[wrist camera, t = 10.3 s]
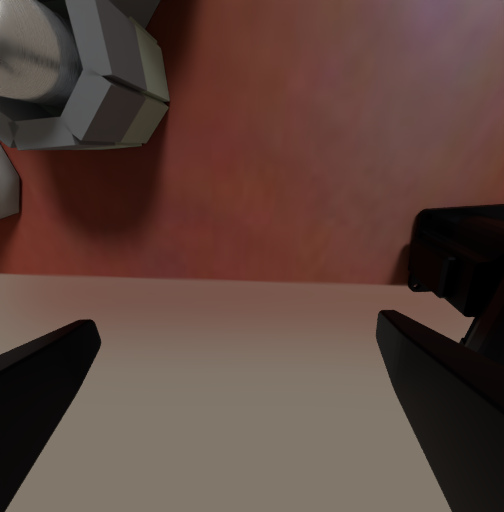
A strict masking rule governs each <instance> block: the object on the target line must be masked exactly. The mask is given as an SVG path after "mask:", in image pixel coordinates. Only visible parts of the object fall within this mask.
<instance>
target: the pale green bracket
mask: <svg viewBox="0 0 504 512" xmlns="http://www.w3.org/2000/svg"><path fill="white" fill-rule="evenodd" d="M41 3H42V4H43V5H45V6H47V7H48V8H50V9H51V10H53V11H54V12H56V13H58V14H59V15H61V16H62V17H64V18H66V19H67V20H69V21H70V17H69V13H68V9H67V5H66V1H65V0H55V1H48V2H41ZM129 20H130V21H132V22H133V23H134V24H135V28H136V34H137V39H138V44H139V49H140V54H141V60H142V65H143V70H144V75H145V80H146V85H147V91H141V92H140V93H141V94H142V95H143V96H144V97H145V98H146V100H145V102H144V103H143V105H142V107H141V108H140V110H139V112H138V114H137V115H136V117H135V119H134V120H133V122H132V124H131V125H130V127H129V129H128V131H127V132H126V134H125V136H124V137H123V139H122V141H121V142H115V146H106V147H95V148H84V149H73V150H104V149H115V148H126V147H137V146H142V143H147V142H148V140H149V138H150V137H151V135H152V134H153V132H154V130H155V129H156V127H157V126H158V124H159V122H160V121H161V119H162V118H163V116H164V115H165V113H166V111H167V110H168V108H169V107H168V106H167V105H166V104H164V103H163V102H168V101H170V98H169V92H168V86H167V80H166V74H165V68H164V62H163V56H162V51H161V48H160V47H159V46H158V45H157V41H156V40H155V39H154V38H153V37H152V36H151V35H150V34H149V33H148V32H147V31H146V30H145V29H144V28H143V27H142V26H140V25H139V24H138V23H137V22H136V21H135V20H134V19H133V18H132V17H131V16H130V17H129ZM70 22H71V21H70ZM37 104H39V103H37ZM39 105H40V106H41V107H42V108H44V109H45V110H46V111H47V112H49V113H50V114H51V115H52V116H54V117H61V114H62V112H63V110H64V108H60V107H55V106H50V105H45V104H39Z"/></svg>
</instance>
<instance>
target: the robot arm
mask: <svg viewBox="0 0 504 512" xmlns="http://www.w3.org/2000/svg"><path fill="white" fill-rule="evenodd" d="M426 214H429V217H428V218H427V219H425V218H424V217H425V215H426ZM408 271H410V274H409V280H408V287H409V288H410V289H411V290H412V291H413V292H429V291H432V292H433V293H434V294H435V295H436V296H437V297H439V298H445V299H446V300H447V301H448V302H449V303H450V304H451V305H453V306H454V307H455V308H456V309H457V310H458V311H459V312H461V313H462V314H463V315H464V316H465V317H475V318H474V320H473V322H472V324H471V326H470V328H469V330H468V331H467V333H466V335H465V337H464V338H462V339H461V341H460V342H459V343H457V342H455V341H453V340H452V339H450V338H448V337H446V336H444V335H442V334H440V333H438V332H436V331H434V330H432V329H430V328H428V327H426V326H424V325H422V324H420V323H418V322H417V321H415V320H413V319H411V318H409V317H407V316H405V315H403V314H401V313H399V312H397V311H395V310H381V311H380V312H379V314H378V319H377V320H378V321H377V329H376V339H377V343H378V346H379V348H380V351H381V354H382V357H383V360H384V363H385V366H386V369H387V371H388V374H389V377H390V380H391V383H392V386H393V388H394V390H395V393H396V395H397V397H398V399H399V402H400V404H401V406H402V408H403V410H404V412H405V414H406V416H407V418H408V420H409V422H410V424H411V427H412V429H413V431H414V433H415V435H416V437H417V439H418V441H419V443H420V446H421V448H422V450H423V452H424V454H425V456H426V458H427V460H428V462H429V465H430V467H431V469H432V471H433V473H434V475H435V477H436V479H437V481H438V483H439V486H440V487H441V490H442V491H443V494H444V496H445V498H446V500H447V502H448V504H449V507H450V509H451V511H452V512H504V204H495V205H479V206H463V207H447V208H431V209H424V210H422V211H421V212H420V213H419V215H418V220H417V226H416V233H415V238H414V239H413V240H412V244H411V251H410V258H409V265H408ZM417 283H418V285H417V286H416V287H414V285H415V284H417ZM100 346H101V339H100V336H99V333H98V330H97V327H96V324H95V322H94V321H93V320H91V319H89V320H78V321H75V322H73V323H71V324H68V325H66V326H64V327H62V328H59V329H57V330H55V331H53V332H50V333H48V334H46V335H44V336H41V337H39V338H37V339H35V340H32V341H30V342H28V343H26V344H23V345H21V346H19V347H17V348H14V349H12V350H10V351H8V352H5V353H3V354H1V355H0V512H5V511H6V509H7V507H8V506H9V504H10V502H11V501H12V499H13V498H14V496H15V494H16V493H17V491H18V489H19V488H20V486H21V484H22V483H23V481H24V480H25V478H26V476H27V475H28V473H29V471H30V470H31V468H32V466H33V465H34V463H35V462H36V460H37V458H38V457H39V455H40V453H41V452H42V450H43V448H44V447H45V445H46V443H47V442H48V440H49V439H50V437H51V435H52V434H53V432H54V430H55V429H56V427H57V426H58V424H59V422H60V421H61V419H62V417H63V415H64V414H65V412H66V411H67V409H68V407H69V406H70V404H71V403H72V401H73V399H74V398H75V396H76V394H77V393H78V391H79V389H80V387H81V385H82V383H83V381H84V379H85V377H86V375H87V373H88V371H89V369H90V367H91V365H92V363H93V361H94V359H95V357H96V355H97V353H98V351H99V349H100Z"/></svg>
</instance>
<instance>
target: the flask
mask: <svg viewBox="0 0 504 512" xmlns="http://www.w3.org/2000/svg"><path fill="white" fill-rule="evenodd" d="M19 178H20V177H19V176H18V174H17V172H16V171H15V169H14V167H13V165H12V164H11V162H10V160H9V159H8V157H7V155H6V154H5V152H4V150H3V148H2V147H1V145H0V219H1V218H4V217H7V216H10V215H13V214H16V213H19Z"/></svg>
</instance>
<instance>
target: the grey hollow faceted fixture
mask: <svg viewBox="0 0 504 512" xmlns="http://www.w3.org/2000/svg"><path fill="white" fill-rule="evenodd" d="M37 1H39V2H40V3H41V2H48V1H55V0H37ZM65 1H66V5H67V9H68V13H69V17H70V21H71V24H72V28H73V32H74V36H75V40H76V43H77V47H78V51H79V55H80V59H81V62H82V66H83V71H82V73H81V75H80V77H79V79H78V81H77V84H76V86H75V88H74V90H73V92H72V94H71V96H70V98H69V100H68V102H67V104H66V106H65V108H64V110H63V112H62V114H61V117H54V116H52V115H51V114H50V113H49V112H47V111H46V110H45V109H44V108H42V107H41V106H40V105H39V104H37V103H34V102H29V101H24V100H19V99H13V98H8V97H3V96H0V141H2V142H3V143H4V144H6V145H7V146H8V147H10V148H17V149H18V150H73V149H84V148H95V147H106V146H115V142H121V141H122V139H123V137H124V136H125V134H126V132H127V131H128V129H129V127H130V125H131V124H132V122H133V120H134V119H135V117H136V115H137V114H138V112H139V110H140V108H141V107H142V105H143V103H144V102H145V100H146V98H145V97H144V96H143V95H142V94H141V93H140V92H141V91H147V85H146V80H145V75H144V70H143V65H142V60H141V54H140V49H139V44H138V39H137V34H136V28H135V24H134V23H133V22H132V21H130V20H129V17H130V16H131V17H132V18H133V19H134V20H135V21H136V22H137V23H138V24H139V25H140V26H142V27H143V28H144V29H145V28H146V27H147V25H148V23H149V21H150V19H151V17H152V15H153V14H154V12H155V10H156V8H157V6H158V4H159V2H160V0H65Z"/></svg>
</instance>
